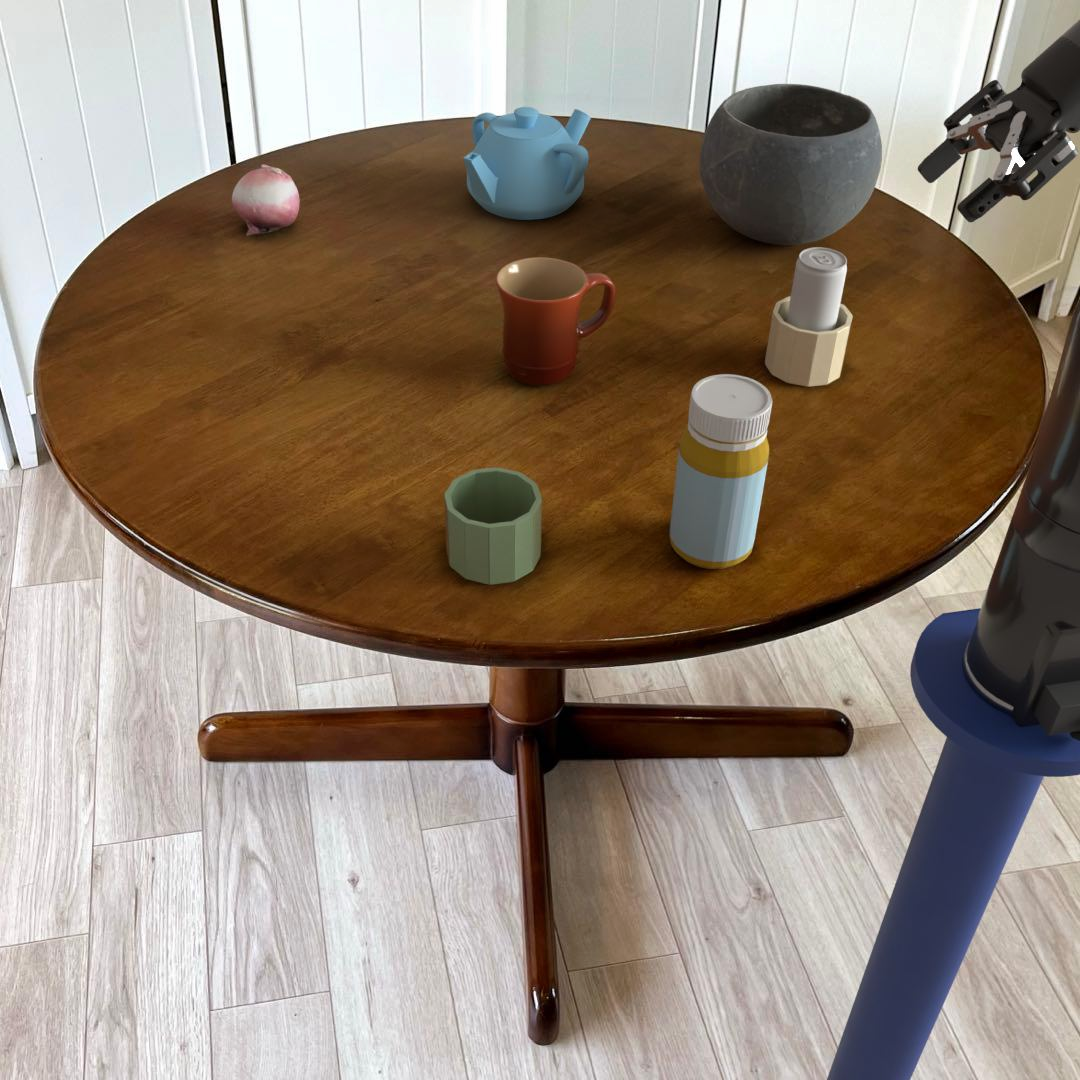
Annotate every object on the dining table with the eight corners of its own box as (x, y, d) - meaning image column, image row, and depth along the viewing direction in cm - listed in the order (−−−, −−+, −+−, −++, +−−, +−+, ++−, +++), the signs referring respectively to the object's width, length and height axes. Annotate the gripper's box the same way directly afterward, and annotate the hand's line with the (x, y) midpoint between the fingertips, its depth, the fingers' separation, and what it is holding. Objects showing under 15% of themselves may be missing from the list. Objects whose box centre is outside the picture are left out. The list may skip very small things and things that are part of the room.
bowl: (901, 240, 147) (928, 116, 137) (779, 289, 137) (800, 160, 128) (778, 181, 159) (796, 63, 149) (659, 222, 150) (669, 99, 140)
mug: (513, 401, 119) (513, 307, 113) (484, 356, 126) (483, 264, 119) (626, 379, 123) (633, 287, 116) (593, 336, 129) (598, 246, 122)
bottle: (767, 563, 102) (794, 412, 92) (690, 581, 100) (710, 429, 90) (729, 512, 107) (751, 364, 97) (655, 528, 105) (670, 379, 95)
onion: (316, 227, 147) (310, 169, 142) (265, 249, 142) (257, 191, 138) (272, 207, 151) (264, 150, 146) (221, 228, 146) (212, 170, 142)
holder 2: (852, 382, 123) (864, 329, 119) (780, 389, 122) (790, 336, 118) (824, 343, 129) (834, 291, 125) (755, 349, 128) (763, 298, 124)
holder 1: (547, 577, 100) (549, 520, 96) (455, 589, 99) (452, 531, 95) (529, 519, 106) (530, 463, 102) (441, 529, 104) (439, 473, 101)
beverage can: (816, 351, 128) (836, 244, 120) (834, 376, 124) (856, 267, 116) (772, 355, 127) (789, 248, 119) (789, 380, 123) (808, 272, 115)
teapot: (608, 222, 149) (613, 131, 142) (465, 230, 147) (463, 138, 140) (587, 170, 161) (590, 83, 154) (454, 176, 159) (451, 89, 152)
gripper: (1032, 11, 113) (890, 140, 119) (1116, 65, 103) (957, 203, 108) (1067, 66, 118) (929, 188, 123) (1152, 123, 107) (997, 254, 113)
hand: (942, 195), depth 116 cm, fingers open, 8 cm apart
